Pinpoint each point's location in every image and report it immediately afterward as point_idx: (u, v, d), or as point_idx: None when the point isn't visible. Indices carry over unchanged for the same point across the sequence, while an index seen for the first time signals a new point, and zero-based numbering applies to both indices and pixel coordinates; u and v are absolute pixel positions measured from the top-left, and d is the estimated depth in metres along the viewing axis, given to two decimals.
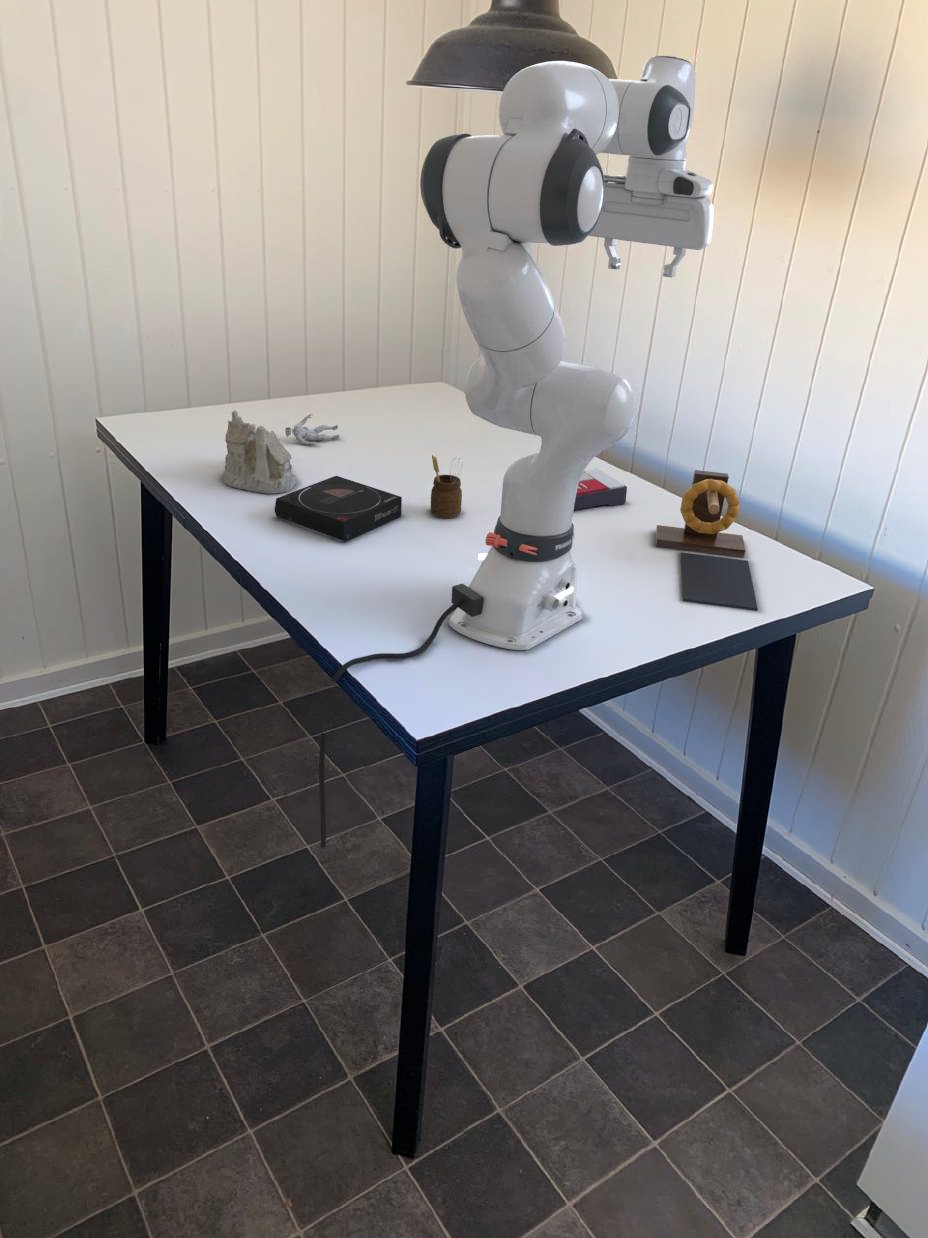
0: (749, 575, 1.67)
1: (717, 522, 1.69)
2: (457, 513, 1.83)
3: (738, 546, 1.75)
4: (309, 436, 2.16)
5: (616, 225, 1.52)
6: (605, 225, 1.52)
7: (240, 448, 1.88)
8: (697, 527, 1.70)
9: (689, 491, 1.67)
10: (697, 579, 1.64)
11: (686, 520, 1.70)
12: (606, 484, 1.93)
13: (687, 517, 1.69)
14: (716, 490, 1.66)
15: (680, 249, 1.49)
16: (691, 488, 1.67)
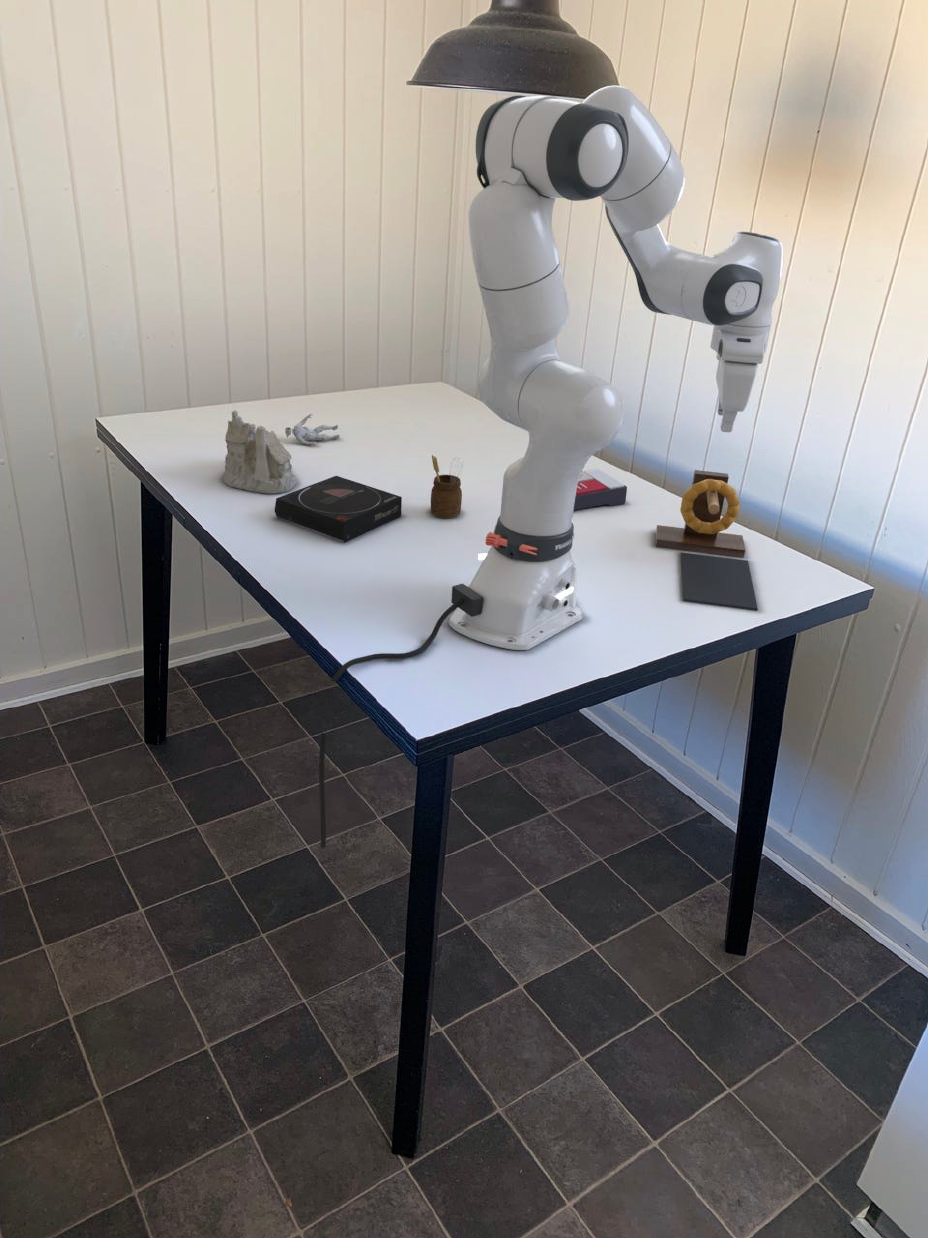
0: (749, 575, 1.67)
1: (717, 522, 1.69)
2: (457, 513, 1.83)
3: (738, 546, 1.75)
4: (309, 436, 2.16)
5: (718, 375, 1.62)
6: (718, 373, 1.64)
7: (240, 448, 1.88)
8: (697, 527, 1.70)
9: (689, 491, 1.67)
10: (697, 579, 1.64)
11: (686, 520, 1.70)
12: (606, 484, 1.93)
13: (687, 517, 1.69)
14: (716, 490, 1.66)
15: None
16: (691, 488, 1.67)
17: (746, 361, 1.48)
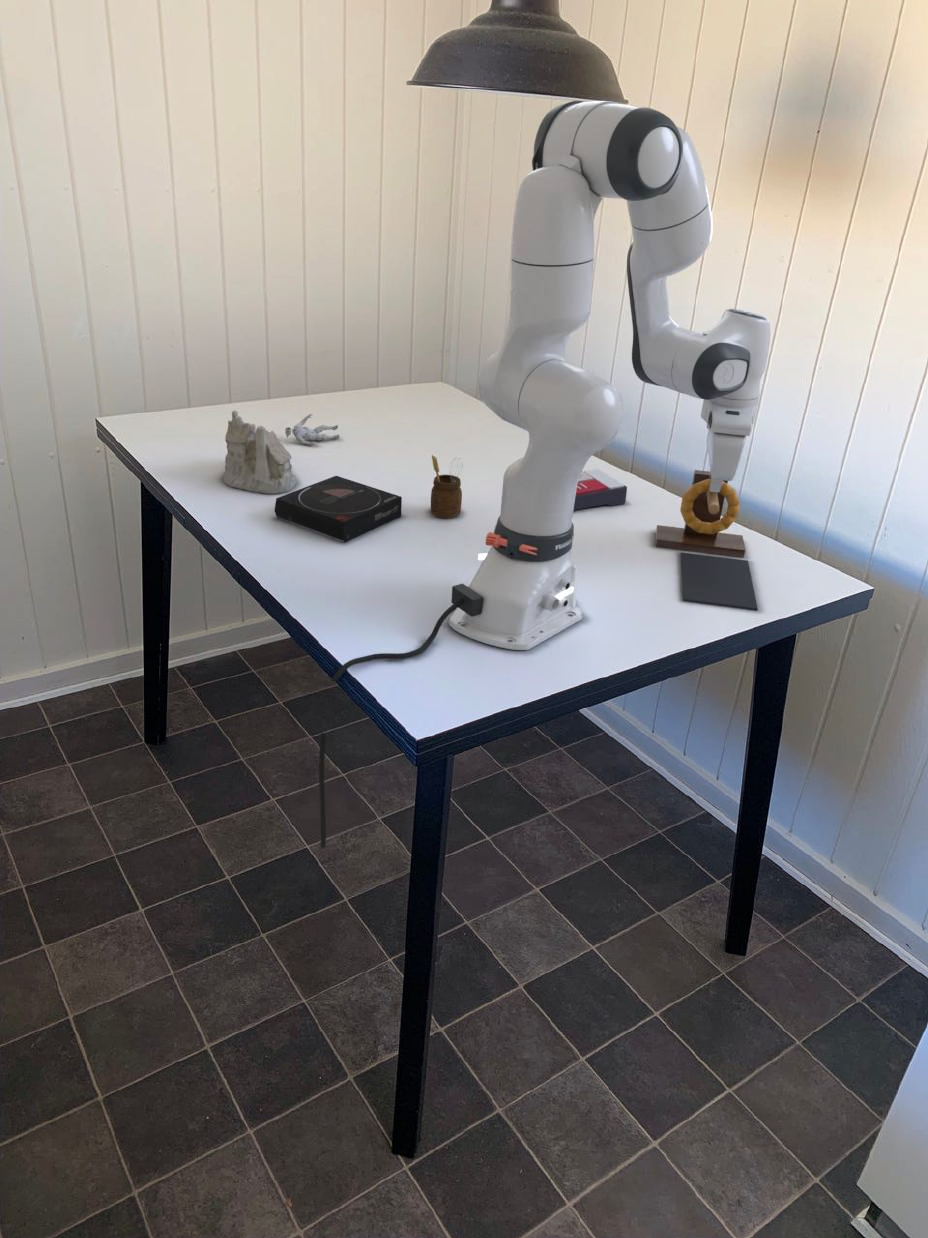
0: (749, 575, 1.67)
1: (717, 522, 1.69)
2: (457, 513, 1.83)
3: (738, 546, 1.75)
4: (309, 436, 2.16)
5: (709, 441, 1.68)
6: (708, 439, 1.69)
7: (240, 448, 1.88)
8: (697, 527, 1.70)
9: (689, 491, 1.67)
10: (697, 579, 1.64)
11: (686, 520, 1.70)
12: (606, 484, 1.93)
13: (687, 517, 1.69)
14: None
15: None
16: (691, 488, 1.67)
17: (735, 433, 1.53)
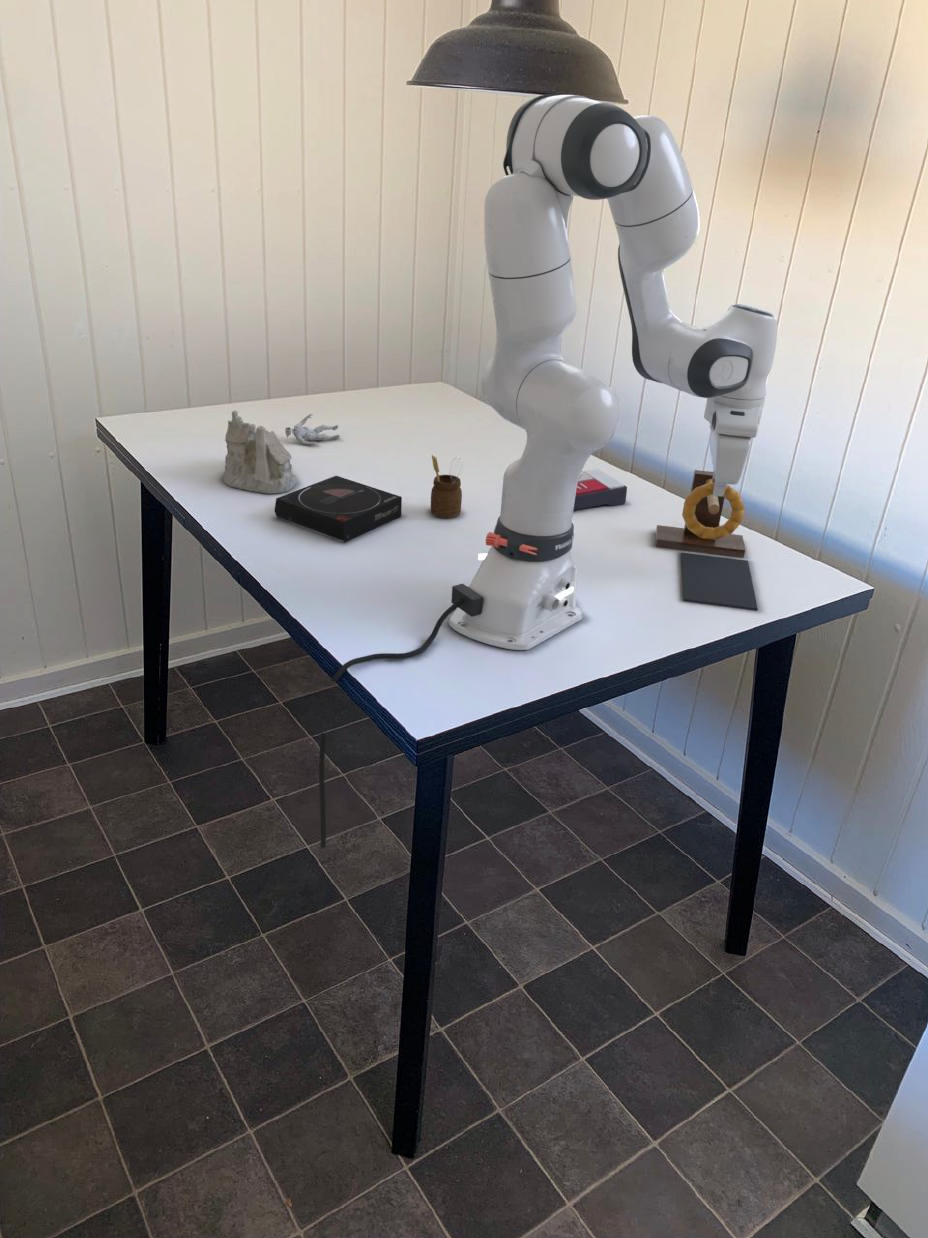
0: (749, 575, 1.67)
1: (720, 527, 1.62)
2: (457, 513, 1.83)
3: (738, 546, 1.75)
4: (309, 436, 2.16)
5: (712, 443, 1.61)
6: (711, 440, 1.63)
7: (240, 448, 1.88)
8: (700, 533, 1.63)
9: (691, 495, 1.60)
10: (697, 579, 1.64)
11: (688, 525, 1.63)
12: (606, 484, 1.93)
13: (689, 522, 1.62)
14: None
15: None
16: (694, 492, 1.60)
17: (740, 435, 1.46)
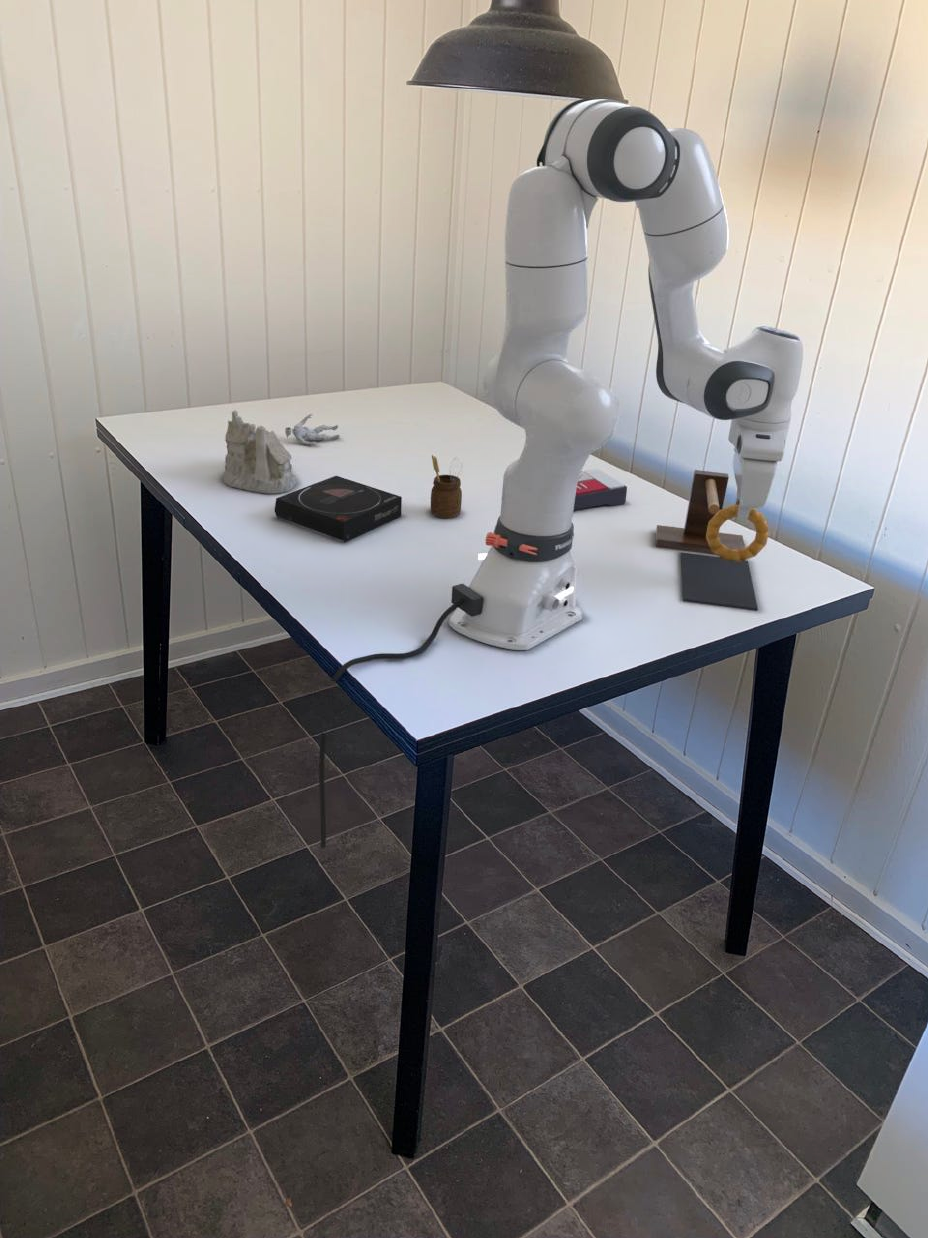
0: (749, 575, 1.67)
1: (745, 549, 1.61)
2: (457, 513, 1.83)
3: (738, 546, 1.75)
4: (309, 436, 2.16)
5: (735, 464, 1.59)
6: (734, 462, 1.61)
7: (240, 448, 1.88)
8: (724, 555, 1.61)
9: (715, 517, 1.59)
10: (697, 579, 1.64)
11: (712, 547, 1.61)
12: (606, 484, 1.93)
13: (713, 544, 1.61)
14: None
15: None
16: (717, 514, 1.59)
17: (765, 459, 1.45)
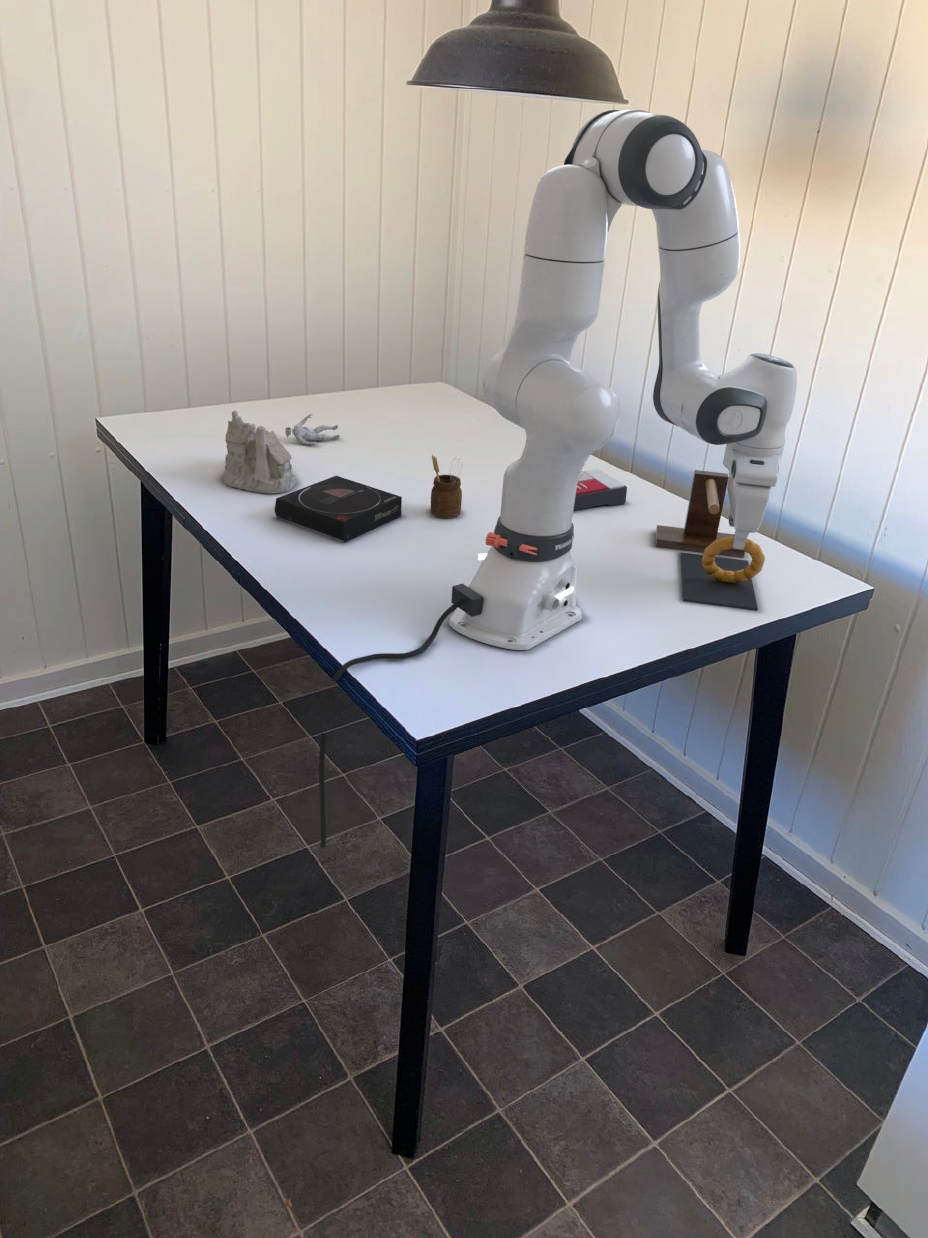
0: None
1: (740, 573, 1.62)
2: (457, 513, 1.83)
3: None
4: (309, 436, 2.16)
5: (730, 487, 1.61)
6: (729, 485, 1.63)
7: (240, 448, 1.88)
8: (719, 578, 1.63)
9: (711, 548, 1.59)
10: (697, 579, 1.64)
11: (707, 572, 1.63)
12: (606, 484, 1.93)
13: (708, 570, 1.62)
14: (740, 549, 1.57)
15: None
16: (713, 545, 1.58)
17: (759, 484, 1.47)
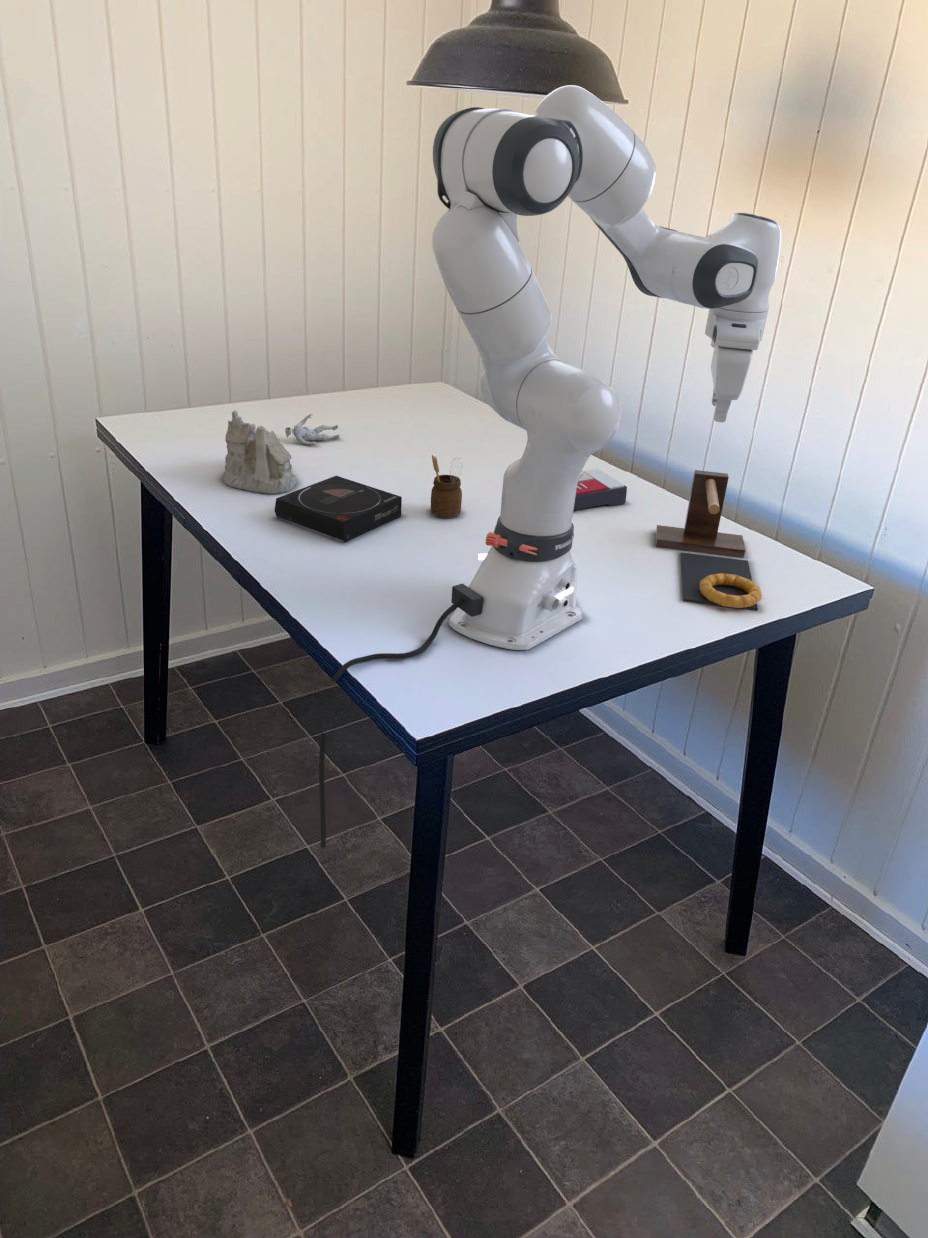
0: (749, 575, 1.67)
1: (739, 586, 1.61)
2: (457, 513, 1.83)
3: (738, 546, 1.75)
4: (309, 436, 2.16)
5: (713, 364, 1.57)
6: (712, 362, 1.58)
7: (240, 448, 1.88)
8: None
9: None
10: (697, 579, 1.64)
11: None
12: (606, 484, 1.93)
13: None
14: None
15: None
16: (707, 598, 1.57)
17: (741, 347, 1.42)
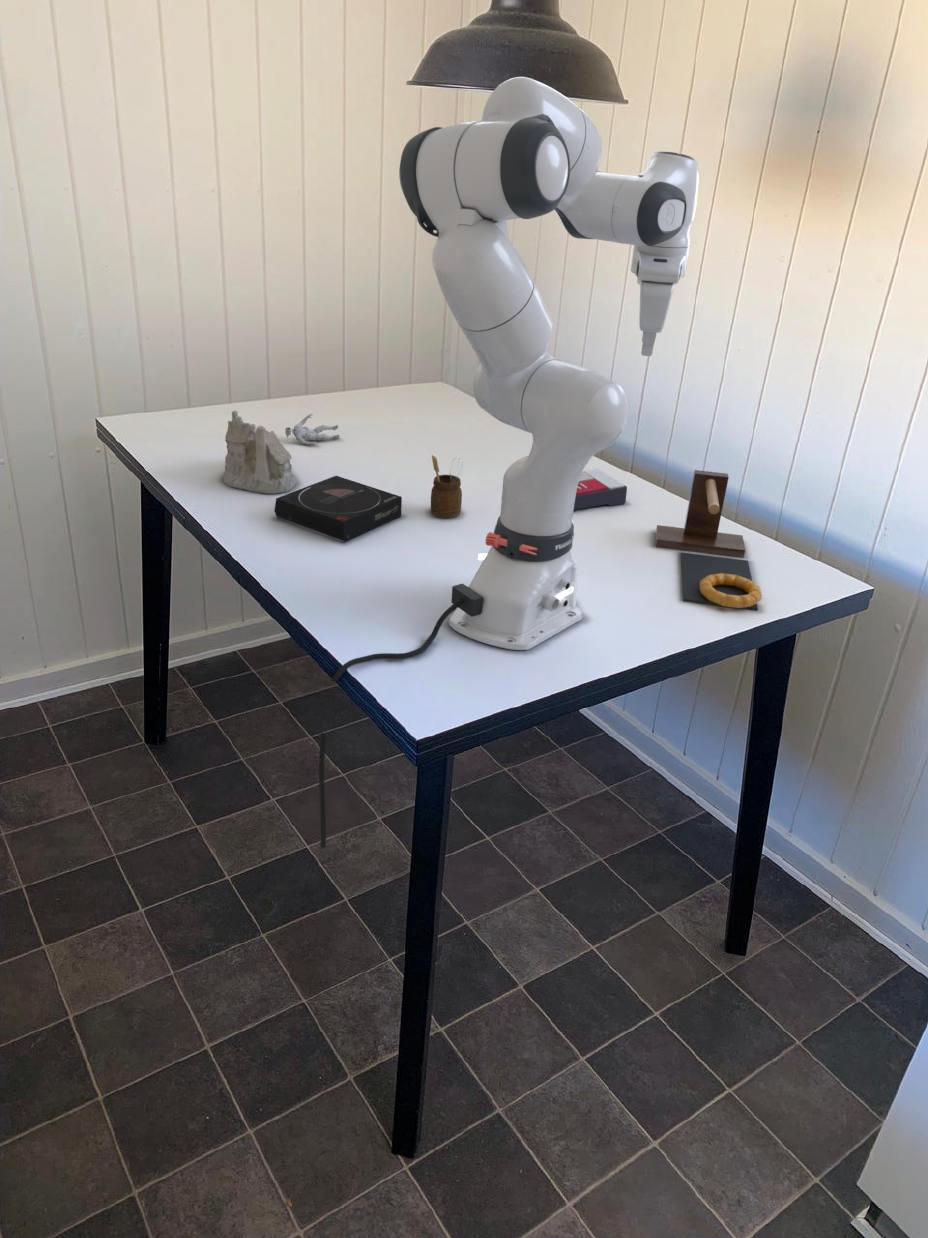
0: (749, 575, 1.67)
1: (739, 586, 1.61)
2: (457, 513, 1.83)
3: (738, 546, 1.75)
4: (309, 436, 2.16)
5: None
6: None
7: (240, 448, 1.88)
8: None
9: None
10: (697, 579, 1.64)
11: None
12: (606, 484, 1.93)
13: None
14: None
15: None
16: (707, 598, 1.57)
17: (662, 280, 1.49)
